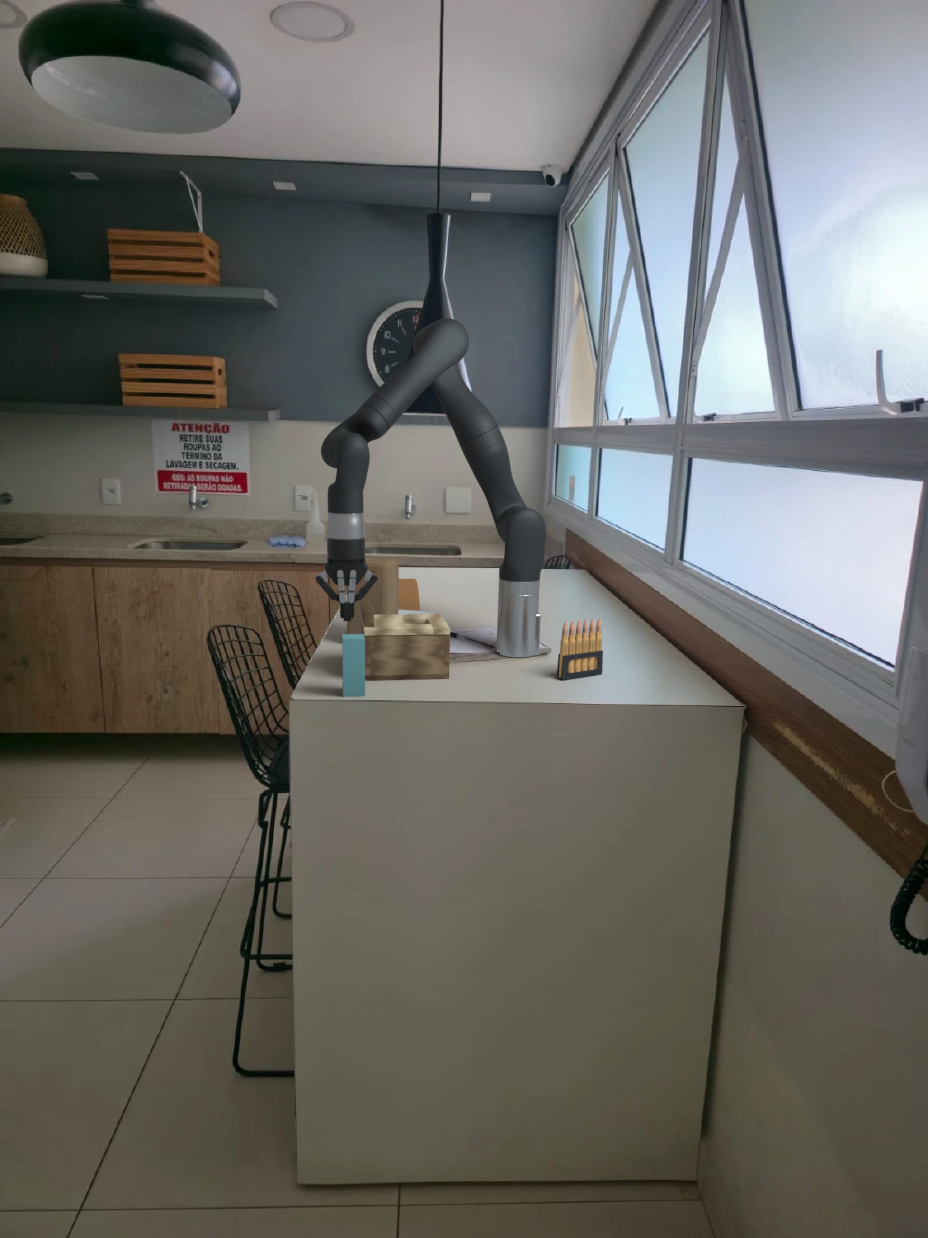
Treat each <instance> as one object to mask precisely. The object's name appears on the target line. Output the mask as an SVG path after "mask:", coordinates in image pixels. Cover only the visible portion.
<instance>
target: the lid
mask: <svg viewBox="0 0 928 1238" xmlns="http://www.w3.org/2000/svg"><path fill="white" fill-rule="evenodd" d="M361 621H362V626H363V631H364V636H378V635H445V634H450V635H451V627H450V626H449V625H448V623H447V622H446V620H445V618H444V617H443V615H442V614H441V613H434V614H393V615H374V610H373V607H372V603H362V615H361Z"/></svg>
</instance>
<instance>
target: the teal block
mask: <svg viewBox="0 0 928 1238" xmlns="http://www.w3.org/2000/svg"><path fill="white" fill-rule="evenodd" d="M341 636H342V637H341V639H342V640H341V642H342V643H341V644H342V645H341V647H342V649H341V651H342V654H341V657H342V659H341V661H342V696H343V698H346V697H347V698H349V697H350V698H351V697H365V696H366V681H365V637H364V634H347V633H342V634H341Z"/></svg>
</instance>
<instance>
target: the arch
mask: <svg viewBox="0 0 928 1238" xmlns="http://www.w3.org/2000/svg"><path fill="white" fill-rule="evenodd" d="M420 600H421V599H420V591H419V584H418V581H417V579H416V578H399V596H398V610H416V611H421V603H420Z"/></svg>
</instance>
